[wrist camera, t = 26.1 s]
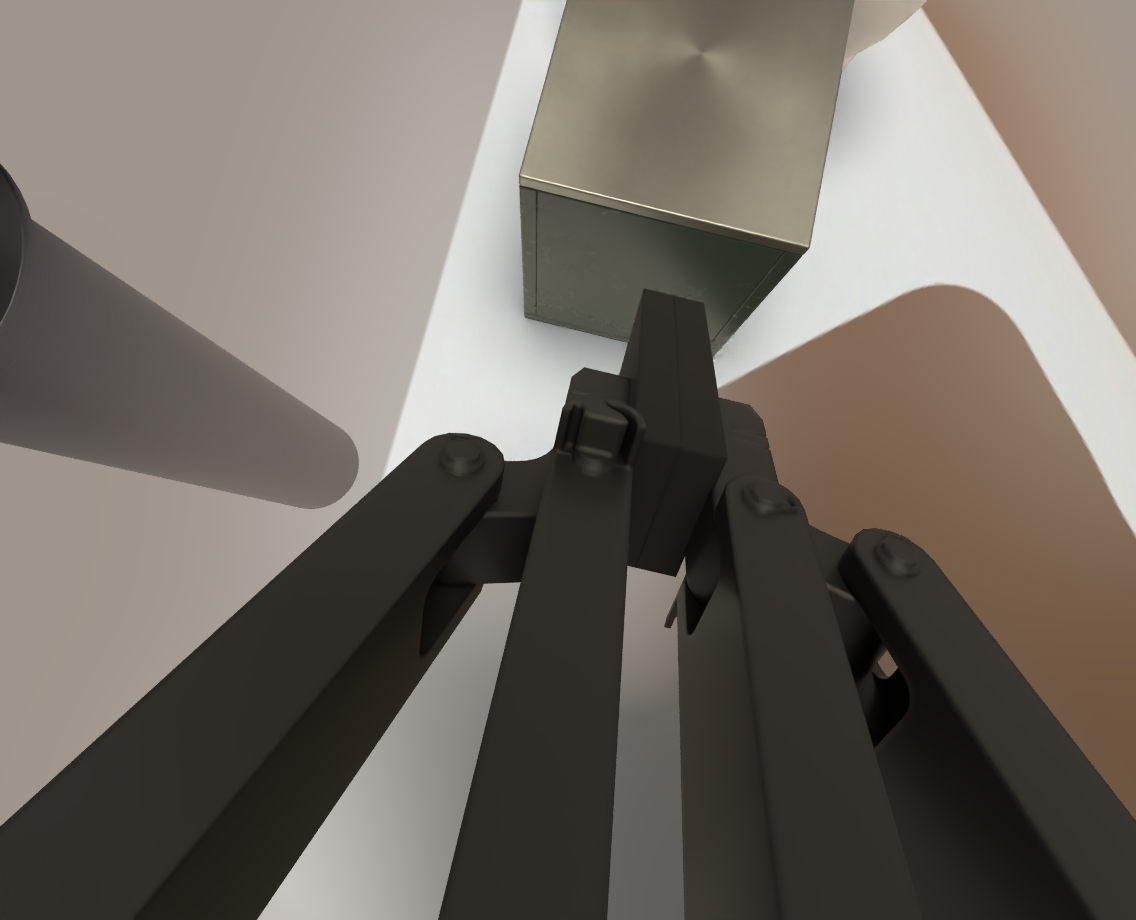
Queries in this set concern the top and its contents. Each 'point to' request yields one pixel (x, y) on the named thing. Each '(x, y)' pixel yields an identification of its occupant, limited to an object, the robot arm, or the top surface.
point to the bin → (635, 267)
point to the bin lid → (693, 112)
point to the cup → (876, 22)
